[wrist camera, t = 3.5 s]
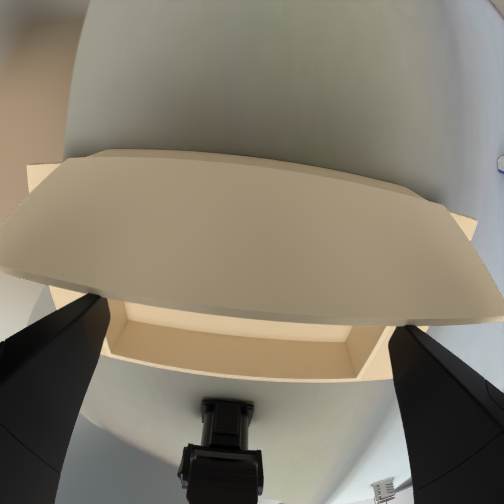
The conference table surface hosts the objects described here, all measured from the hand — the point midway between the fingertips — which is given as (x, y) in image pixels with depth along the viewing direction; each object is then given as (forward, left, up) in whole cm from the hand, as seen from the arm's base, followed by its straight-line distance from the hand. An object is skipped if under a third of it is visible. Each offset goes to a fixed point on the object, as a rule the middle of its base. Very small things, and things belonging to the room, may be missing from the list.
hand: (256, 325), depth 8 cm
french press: (-97, -62, -13) cm, 116 cm away
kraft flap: (+3, 0, -7) cm, 8 cm away
